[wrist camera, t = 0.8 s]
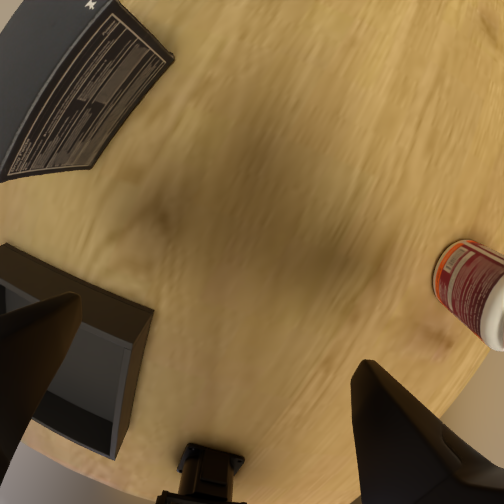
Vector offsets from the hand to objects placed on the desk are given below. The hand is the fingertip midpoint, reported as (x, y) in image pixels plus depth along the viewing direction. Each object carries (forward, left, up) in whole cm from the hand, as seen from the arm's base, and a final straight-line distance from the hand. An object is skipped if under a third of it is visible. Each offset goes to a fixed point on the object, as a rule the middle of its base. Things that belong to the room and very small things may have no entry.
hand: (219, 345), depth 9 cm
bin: (-16, +12, -14) cm, 25 cm away
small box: (+7, +13, -14) cm, 21 cm away
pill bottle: (+4, -19, -14) cm, 24 cm away
